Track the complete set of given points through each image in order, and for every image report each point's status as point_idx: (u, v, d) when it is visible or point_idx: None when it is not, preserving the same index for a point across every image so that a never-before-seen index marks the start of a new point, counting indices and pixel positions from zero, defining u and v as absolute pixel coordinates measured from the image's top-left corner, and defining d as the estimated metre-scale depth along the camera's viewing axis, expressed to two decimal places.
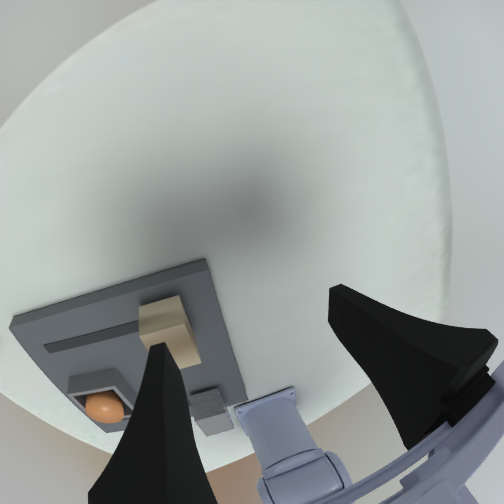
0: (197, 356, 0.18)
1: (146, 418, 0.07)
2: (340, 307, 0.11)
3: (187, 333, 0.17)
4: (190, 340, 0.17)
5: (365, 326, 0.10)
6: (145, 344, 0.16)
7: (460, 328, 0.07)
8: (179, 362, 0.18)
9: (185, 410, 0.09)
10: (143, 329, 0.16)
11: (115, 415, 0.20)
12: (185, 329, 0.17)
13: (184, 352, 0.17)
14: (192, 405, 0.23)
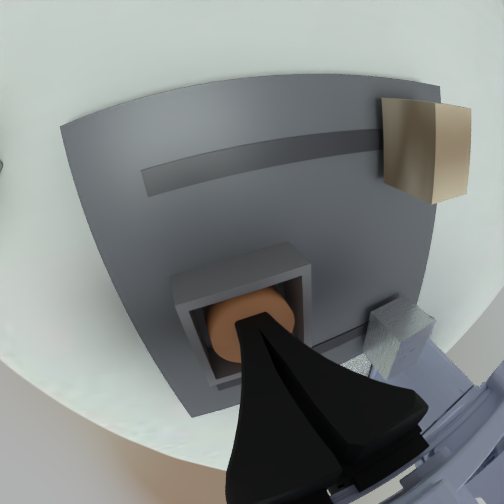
0: (467, 178, 0.10)
1: (263, 386, 0.07)
2: None
3: (470, 127, 0.08)
4: (469, 142, 0.09)
5: (278, 363, 0.09)
6: (437, 124, 0.08)
7: (380, 384, 0.06)
8: (453, 183, 0.09)
9: None
10: (428, 102, 0.08)
11: None
12: (470, 119, 0.08)
13: (461, 163, 0.09)
14: (384, 322, 0.15)
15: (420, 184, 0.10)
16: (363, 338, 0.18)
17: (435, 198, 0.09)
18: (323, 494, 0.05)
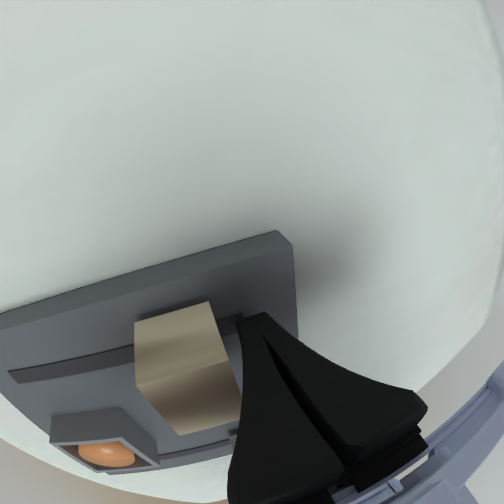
0: None
1: (264, 386, 0.07)
2: None
3: (232, 376, 0.08)
4: (236, 386, 0.09)
5: (277, 364, 0.09)
6: (149, 397, 0.08)
7: (379, 384, 0.06)
8: (211, 419, 0.09)
9: None
10: (142, 369, 0.08)
11: (123, 459, 0.12)
12: (229, 370, 0.08)
13: (221, 405, 0.09)
14: None
15: None
16: None
17: (183, 432, 0.09)
18: (324, 493, 0.05)
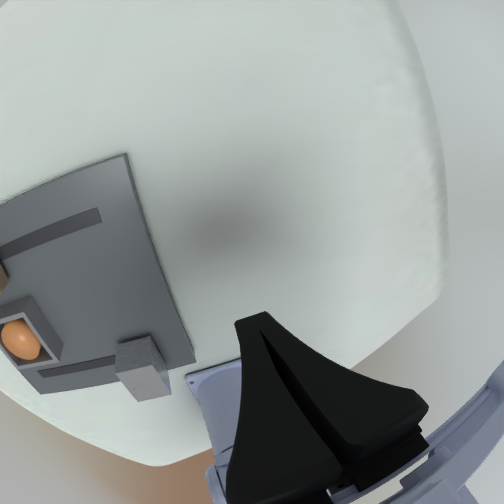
0: None
1: (263, 386, 0.07)
2: None
3: None
4: None
5: (278, 363, 0.09)
6: None
7: (380, 384, 0.06)
8: None
9: None
10: None
11: (31, 347, 0.15)
12: None
13: None
14: (117, 355, 0.18)
15: None
16: None
17: None
18: (323, 494, 0.05)
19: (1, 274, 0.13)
